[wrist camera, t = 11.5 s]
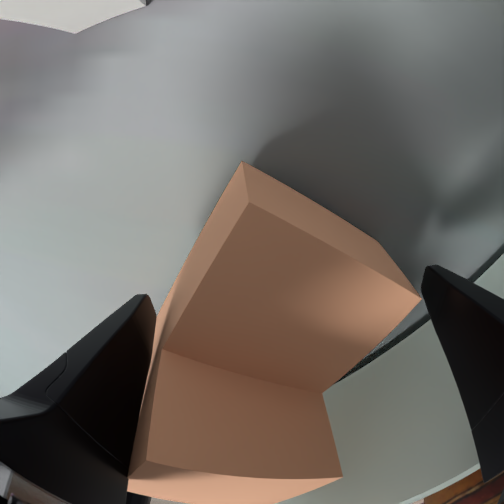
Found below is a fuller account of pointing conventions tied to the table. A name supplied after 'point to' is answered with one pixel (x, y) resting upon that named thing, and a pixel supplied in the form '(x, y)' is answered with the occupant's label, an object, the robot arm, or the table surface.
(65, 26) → the white small block
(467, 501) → the ceramic pitcher
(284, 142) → the table surface
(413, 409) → the door
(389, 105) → the table surface
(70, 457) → the robot arm
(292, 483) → the tan stair step
